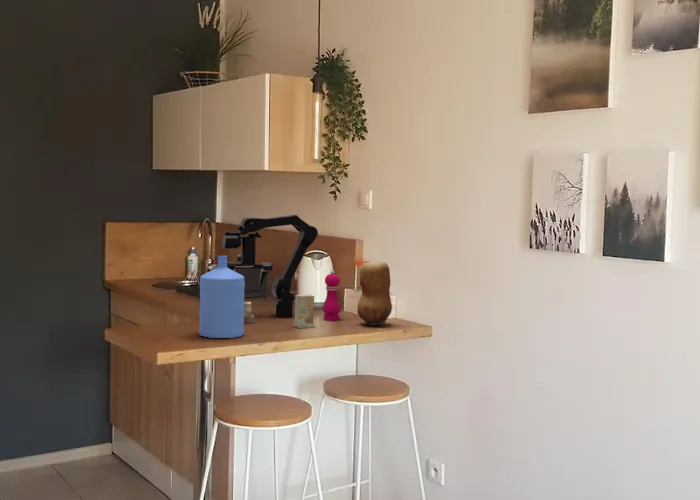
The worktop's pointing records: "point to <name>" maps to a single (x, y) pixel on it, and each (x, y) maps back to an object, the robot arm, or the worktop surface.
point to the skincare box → (304, 311)
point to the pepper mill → (331, 297)
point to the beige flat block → (249, 320)
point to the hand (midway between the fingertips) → (248, 287)
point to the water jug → (222, 302)
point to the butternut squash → (375, 293)
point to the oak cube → (247, 309)
